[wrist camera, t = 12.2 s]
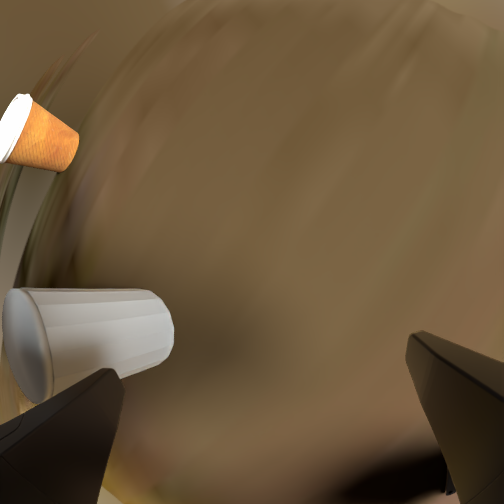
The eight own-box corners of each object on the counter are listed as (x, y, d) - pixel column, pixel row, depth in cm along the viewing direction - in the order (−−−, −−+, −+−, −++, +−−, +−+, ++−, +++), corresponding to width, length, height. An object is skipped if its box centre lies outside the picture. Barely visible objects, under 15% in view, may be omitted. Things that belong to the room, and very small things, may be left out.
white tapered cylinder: (184, 360, 21) (58, 409, 9) (128, 368, 23) (19, 399, 11) (161, 279, 22) (27, 274, 10) (110, 299, 24) (-3, 301, 12)
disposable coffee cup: (78, 173, 28) (3, 144, 17) (46, 190, 31) (-17, 171, 20) (92, 112, 29) (31, 77, 18) (58, 135, 32) (3, 110, 21)
